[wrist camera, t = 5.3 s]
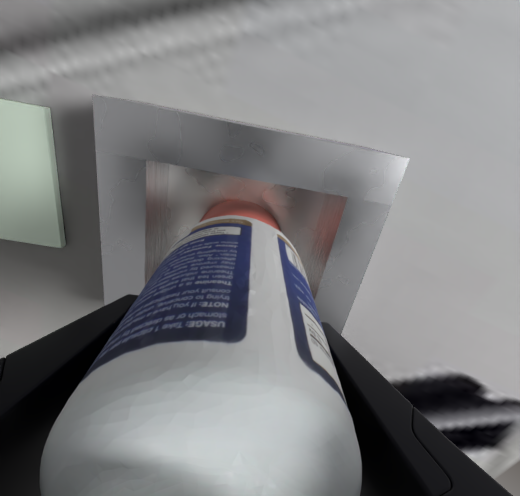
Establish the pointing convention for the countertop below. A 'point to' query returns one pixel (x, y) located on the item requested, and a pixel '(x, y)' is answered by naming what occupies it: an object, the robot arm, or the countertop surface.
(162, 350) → the pill bottle
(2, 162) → the pad
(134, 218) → the frame
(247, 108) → the countertop surface
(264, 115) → the countertop surface
